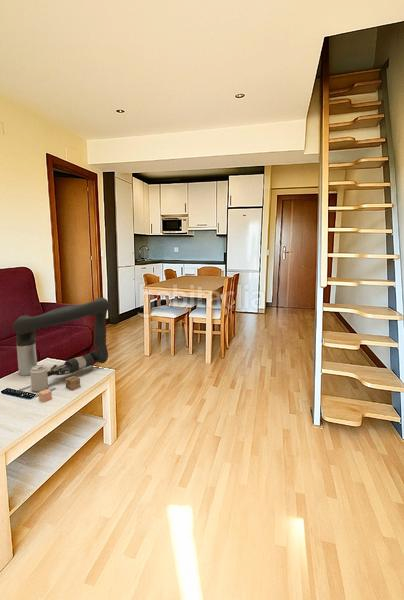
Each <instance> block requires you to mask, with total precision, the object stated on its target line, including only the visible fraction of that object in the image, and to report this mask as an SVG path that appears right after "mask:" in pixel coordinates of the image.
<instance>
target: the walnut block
mask: <svg viewBox="0 0 404 600" xmlns="http://www.w3.org/2000/svg"><path fill="white" fill-rule="evenodd" d="M64 384H65V389H66V390H67V389H68V390H70V391H74V390H77V389H79V388H81V378H80V377H79V376H75V375H72V376H70V377H67V378H65V383H64Z"/></svg>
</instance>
